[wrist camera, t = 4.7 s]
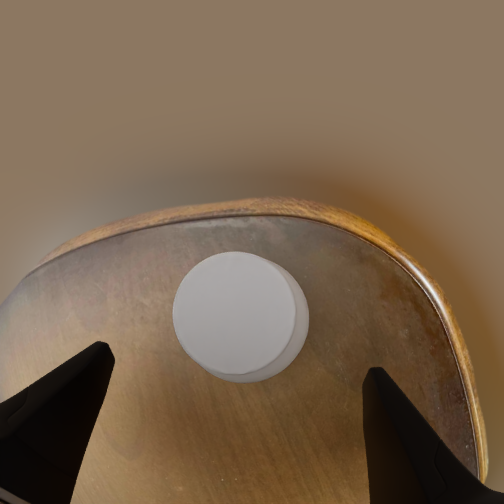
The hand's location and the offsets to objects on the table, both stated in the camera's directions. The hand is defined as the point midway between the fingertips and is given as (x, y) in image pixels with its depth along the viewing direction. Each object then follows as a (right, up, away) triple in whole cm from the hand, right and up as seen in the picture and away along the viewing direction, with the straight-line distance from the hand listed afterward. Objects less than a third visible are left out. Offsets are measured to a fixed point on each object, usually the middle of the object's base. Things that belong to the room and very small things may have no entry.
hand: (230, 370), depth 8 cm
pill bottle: (+1, -1, +10) cm, 10 cm away
